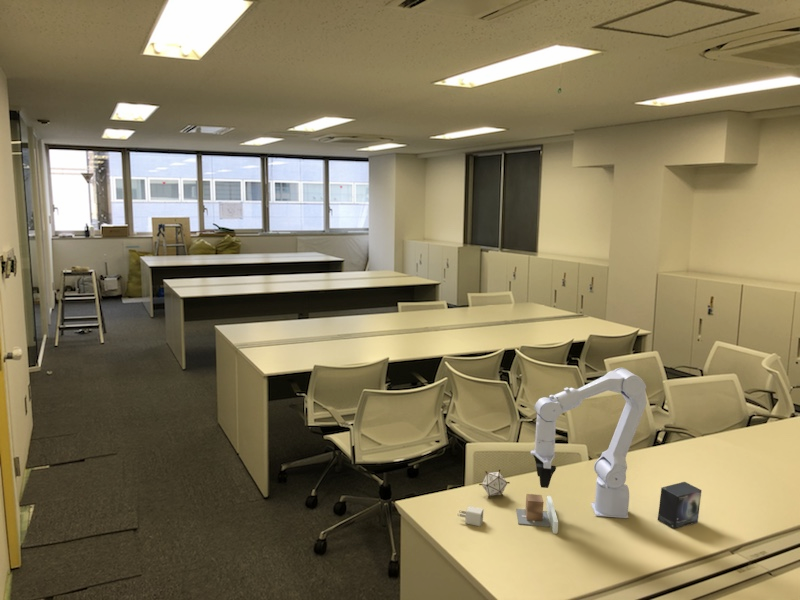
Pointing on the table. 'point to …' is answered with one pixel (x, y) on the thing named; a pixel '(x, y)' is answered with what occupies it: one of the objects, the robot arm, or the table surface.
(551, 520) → the frosted wall
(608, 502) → the robot arm
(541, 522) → the pad
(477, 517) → the usb wall charger
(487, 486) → the game die
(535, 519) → the walnut block
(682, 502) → the small box
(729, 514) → the table surface
